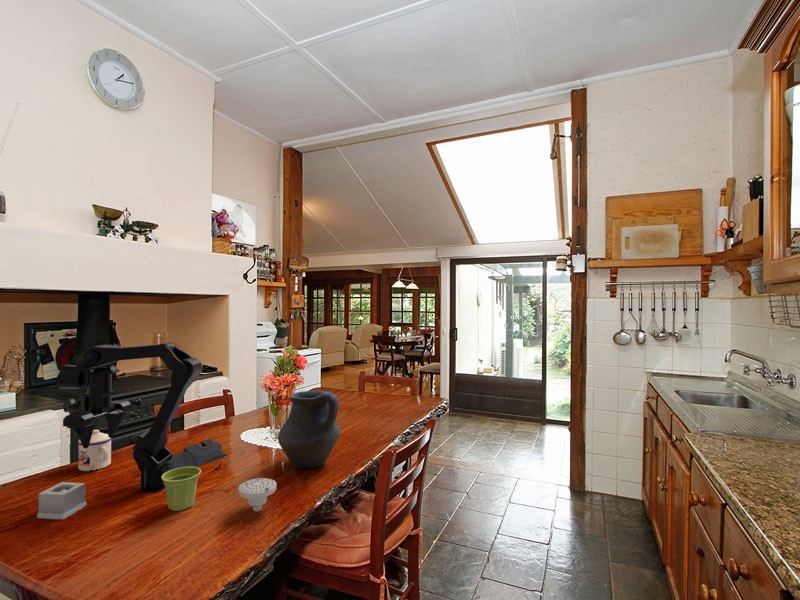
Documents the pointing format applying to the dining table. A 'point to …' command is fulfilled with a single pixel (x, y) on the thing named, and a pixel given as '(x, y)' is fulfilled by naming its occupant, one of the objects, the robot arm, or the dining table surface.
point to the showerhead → (257, 491)
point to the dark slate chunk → (197, 455)
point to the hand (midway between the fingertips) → (98, 442)
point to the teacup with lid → (95, 452)
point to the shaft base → (55, 516)
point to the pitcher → (310, 429)
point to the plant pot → (181, 487)
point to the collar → (61, 498)
